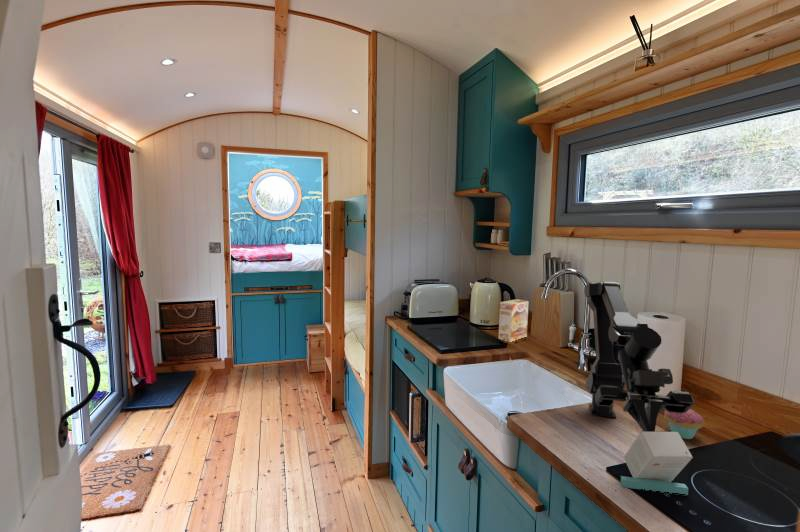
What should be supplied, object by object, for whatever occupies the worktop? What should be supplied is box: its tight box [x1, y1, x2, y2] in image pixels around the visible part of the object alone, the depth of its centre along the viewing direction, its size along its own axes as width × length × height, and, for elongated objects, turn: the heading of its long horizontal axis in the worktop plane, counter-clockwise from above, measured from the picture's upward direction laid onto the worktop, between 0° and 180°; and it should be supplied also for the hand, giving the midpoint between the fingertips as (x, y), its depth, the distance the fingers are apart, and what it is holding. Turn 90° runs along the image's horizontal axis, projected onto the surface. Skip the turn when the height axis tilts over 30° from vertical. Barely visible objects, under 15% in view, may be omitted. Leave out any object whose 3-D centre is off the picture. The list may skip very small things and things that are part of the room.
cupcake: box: [663, 408, 704, 440], centre depth 106 cm, size 9×8×12 cm
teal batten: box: [620, 475, 689, 496], centre depth 83 cm, size 2×12×2 cm, turn 78°
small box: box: [623, 430, 694, 482], centre depth 85 cm, size 8×6×10 cm
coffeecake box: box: [497, 298, 530, 342], centre depth 194 cm, size 15×7×20 cm, turn 132°
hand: (651, 437), depth 86 cm, fingers closed
